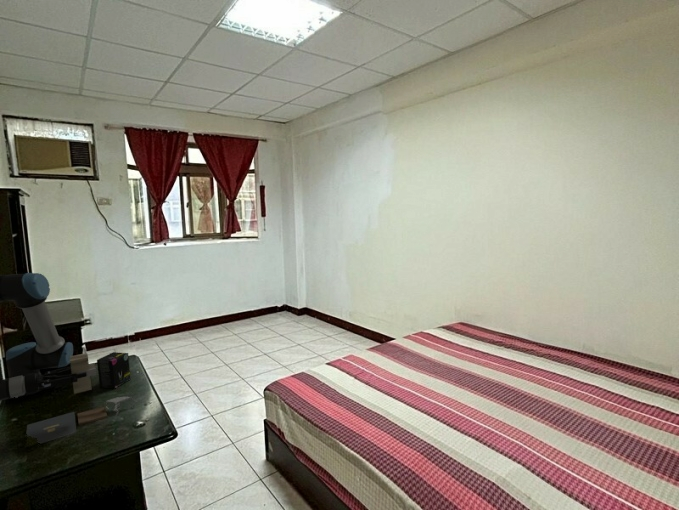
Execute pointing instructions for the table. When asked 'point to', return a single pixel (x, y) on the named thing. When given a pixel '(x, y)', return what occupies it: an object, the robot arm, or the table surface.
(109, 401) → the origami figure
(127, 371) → the tampon box
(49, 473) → the table surface
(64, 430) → the tile
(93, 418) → the walnut pad
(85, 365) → the birch block
